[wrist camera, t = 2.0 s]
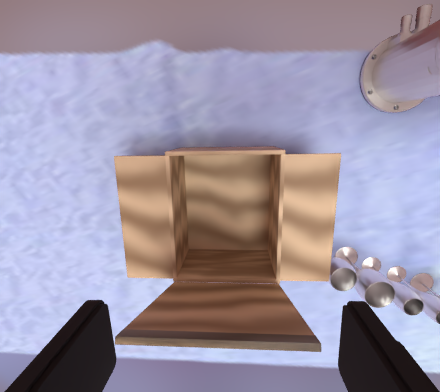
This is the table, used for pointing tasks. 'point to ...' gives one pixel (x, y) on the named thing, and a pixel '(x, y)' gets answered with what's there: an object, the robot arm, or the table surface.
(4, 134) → the table surface
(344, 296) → the table surface
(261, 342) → the lid flap
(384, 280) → the goblet set
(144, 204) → the carton
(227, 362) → the table surface
